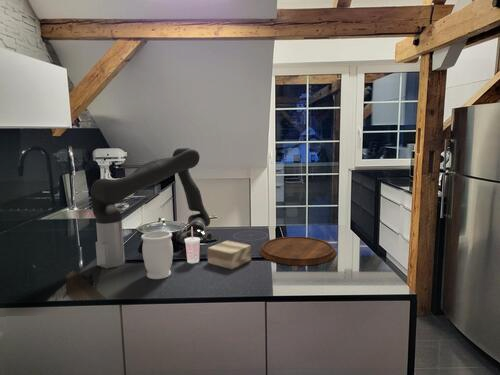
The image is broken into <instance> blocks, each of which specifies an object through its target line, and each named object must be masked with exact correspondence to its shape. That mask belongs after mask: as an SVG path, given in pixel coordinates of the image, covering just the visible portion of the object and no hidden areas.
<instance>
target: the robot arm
mask: <svg viewBox="0 0 500 375" xmlns="http://www.w3.org/2000/svg"><path fill="white" fill-rule="evenodd" d="M198 163H200V154H199V152H198V150H197V149H194V148H192V147H186V148H185V147H184V148H183V147H182V148H181V147H180V148H176V149H175V150H174V151H173V153H172V156H171V157H165V158H160V159H155V160H152V161H149V162H146V163H144V164H141V165H140V166H138V167H136V169H135V170H134V171H133V172H132V173H130V174H129V175H126V176H123V177H121V178H117V179H109V178H99V179H96V180H95V181H93V183H92V185H91V188H90V198H91V207H92V213H93V216H94V217H95V221H96V222H95V223H96V224H95V225H96V236H97V241H95V251H96V252H95V253H96V264H97V266H98V267H101V268H103V269H105V270H106V269H110V268H111V269H112V268H117V267H121V266H122V265H124V264H125V263H126V260H125V259H126V257H125V245H124V232H123V229H124V228H123V218H122V215H123V214H122V213H121V211H120V210H119V209H118V208H117V207H116V204H118V203H120V202H122V201H124V200H125V199H126V198H128V197H130V196H131V195H133V194H135V193H137V192H139V191H141V190H144V189H146V188H148V187H150V186H154V185H156V184H158V183H160V182H163V181H164V180H166V179H168V178H171V177H172V176H174V175H176V174H177V176H178V178H179V181H180V183H181V185H182V187H183V190H184V194H185V195H184V196H185V198H186V203H187V208H188V209H189V211H192V212H198V213H194V214H191V215H189V216H188V218H187V224H188V227H187V230H186V231H185V232H183V231H181V230H179V231H178V232H177V233H176V241H177V242H178V241H179V242H180V243H181V244H184V243H185V240H184V239H186V238H189V237H192V233H191V227H193V237H198V238H200V241H202V243H206V242H207V241H208V240H209V241H211V240H212V230H211V229H209V230H207V231H206V227H209V226H210V223H211V218H210V216H209V213H208V212H207V211H206V209H205V206H204V203H203V199H202V194H201V191H200V188H199V187H198V184H196V183H195V181H194V180H193V178H192V176H191V174H190V172H189V169H193V168H195V167H196V166H197V165H198Z"/></svg>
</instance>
